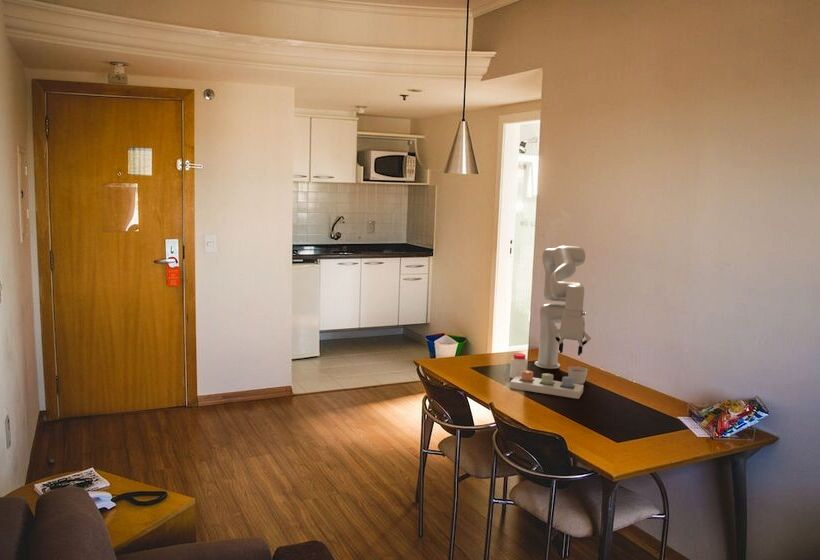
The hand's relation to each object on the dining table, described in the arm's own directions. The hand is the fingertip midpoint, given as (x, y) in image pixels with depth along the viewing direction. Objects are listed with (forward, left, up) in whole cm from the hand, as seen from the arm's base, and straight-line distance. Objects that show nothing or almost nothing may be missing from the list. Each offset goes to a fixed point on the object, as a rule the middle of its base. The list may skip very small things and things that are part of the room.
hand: (570, 353), depth 295 cm
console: (0, -9, -18) cm, 20 cm away
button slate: (0, 0, -15) cm, 15 cm away
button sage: (0, -9, -15) cm, 17 cm away
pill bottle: (-13, -25, -18) cm, 33 cm away
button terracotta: (0, -18, -15) cm, 23 cm away
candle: (-20, +1, -18) cm, 27 cm away
